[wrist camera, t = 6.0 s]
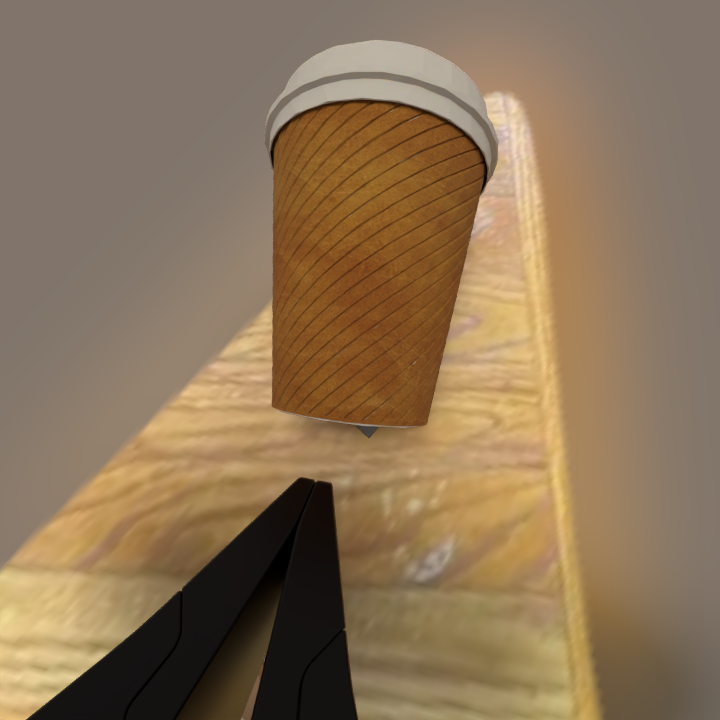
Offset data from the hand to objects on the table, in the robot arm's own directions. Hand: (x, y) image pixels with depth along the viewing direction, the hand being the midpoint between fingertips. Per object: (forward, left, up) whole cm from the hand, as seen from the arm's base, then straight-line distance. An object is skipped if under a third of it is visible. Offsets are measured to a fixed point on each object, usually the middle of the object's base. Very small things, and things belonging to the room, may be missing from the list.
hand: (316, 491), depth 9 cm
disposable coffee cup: (+1, -2, -5) cm, 6 cm away
